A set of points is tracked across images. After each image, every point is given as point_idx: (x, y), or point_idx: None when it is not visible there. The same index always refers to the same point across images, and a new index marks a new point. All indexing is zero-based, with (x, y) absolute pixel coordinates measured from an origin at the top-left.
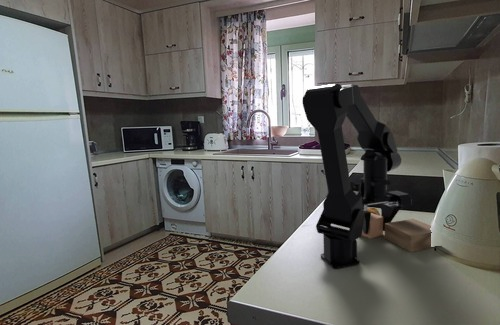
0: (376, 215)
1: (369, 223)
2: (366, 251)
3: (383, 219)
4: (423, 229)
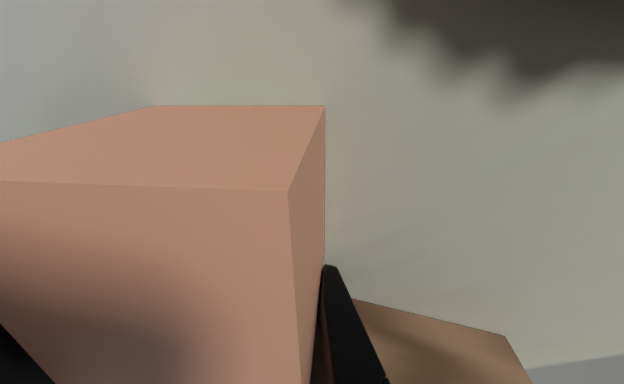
0: (266, 376)
1: None
2: None
3: (320, 379)
4: None
